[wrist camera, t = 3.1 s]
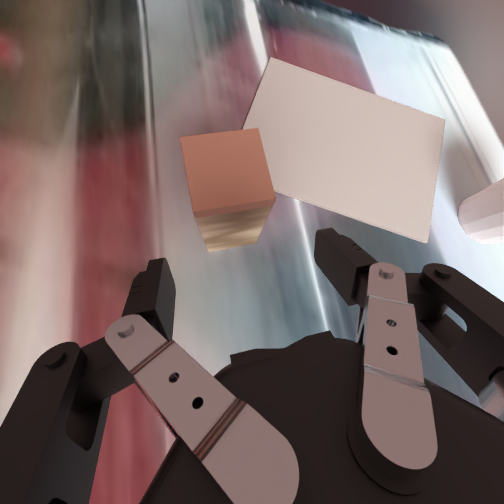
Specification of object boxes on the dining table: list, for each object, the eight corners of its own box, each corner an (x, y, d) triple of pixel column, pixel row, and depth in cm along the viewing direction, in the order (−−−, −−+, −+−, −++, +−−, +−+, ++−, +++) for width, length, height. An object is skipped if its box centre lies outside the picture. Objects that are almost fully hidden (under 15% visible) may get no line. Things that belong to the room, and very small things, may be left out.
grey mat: (225, 174, 24) (225, 172, 24) (270, 59, 28) (270, 56, 28) (425, 243, 25) (427, 242, 24) (443, 121, 28) (445, 119, 28)
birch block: (208, 251, 22) (193, 211, 13) (200, 206, 23) (179, 136, 13) (255, 243, 23) (275, 198, 13) (245, 199, 24) (258, 127, 14)
